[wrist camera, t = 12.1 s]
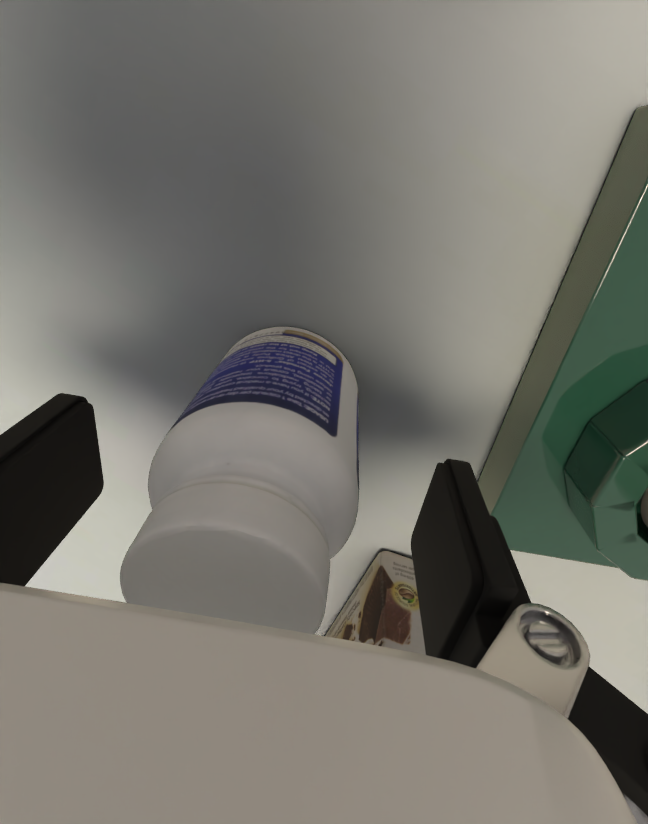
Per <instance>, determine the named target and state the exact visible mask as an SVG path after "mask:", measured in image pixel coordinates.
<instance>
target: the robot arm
mask: <svg viewBox="0 0 648 824" xmlns="http://www.w3.org/2000/svg"><path fill="white" fill-rule="evenodd" d="M103 484H104V481H103V474H102V466H101V459H100V452H99V445H98V438H97V430H96V423H95V416H94V409H93V406H92V404H90V403H88V401H87V400H86V398H84V397H82V396H76V395H70V394H64V393H60V394H58V395H56V396H55V397H53V398H52V399H50V400H49V401H48V402H46V403H45V404H43V405H42V406H41V407H39V408H38V409H36V410H35V411H33V412H32V413H31V414H29V415H28V416H26V417H25V418H24V419H22V420H21V421H19V422H18V423H17V424H15V425H14V426H12V427H11V428H10V429H8V430H7V431H5V432H4V433H3V434H1V435H0V824H648V714H647V713H646V712H644V711H643V710H642V709H641V708H640V707H638V706H637V705H636V704H635V703H633V702H632V701H631V700H630V699H628V698H627V697H626V696H625V695H623V694H622V693H621V692H620V691H619V690H617V689H616V688H615V687H614V686H612V685H611V684H610V683H609V682H607V681H606V680H605V679H604V678H602V677H601V676H600V675H599V674H597V673H596V672H595V671H594V670H593V669H591V668H590V667H589V661H590V653H589V649H588V646H587V643H586V642H585V640H584V638H583V636H582V635H581V633H580V632H579V631H578V630H577V629H576V627H575V626H574V625H573V624H572V623H571V622H570V621H569V620H567V619H566V618H565V617H564V616H563V615H561V614H560V613H558V612H556V611H554V610H553V609H551V608H549V607H546V606H543V605H540V604H534V603H531V601H530V599H529V596H528V594H527V591H526V589H525V586H524V584H523V582H522V579H521V577H520V574H519V572H518V569H517V567H516V564H515V562H514V559H513V557H512V554H511V552H510V549H509V547H508V544H507V542H506V539H505V537H504V535H503V532H502V530H501V527H500V525H499V522H498V521H497V519H496V518H495V517H494V516H492V515H490V514H489V511H488V509H487V506H486V504H485V501H484V499H483V496H482V493H481V491H480V488H479V486H478V483H477V481H476V478H475V475H474V473H473V470H472V468H471V465H470V463H468V462H464V461H458V460H452V459H446V461H445V462H444V463H438V464H437V466H436V469H435V472H434V474H433V477H432V480H431V483H430V486H429V489H428V491H427V494H426V497H425V500H424V503H423V505H422V508H421V511H420V514H419V517H418V519H417V522H416V525H415V528H414V531H413V534H412V538H411V551H412V558H413V565H414V573H415V580H416V587H417V594H418V601H419V609H420V616H421V623H422V630H423V637H424V645H425V652H426V655H423V654H419V653H413V652H408V651H403V650H397V649H392V648H387V647H382V646H376V645H371V644H366V643H360V642H355V641H350V640H344V639H338V638H332V637H326V636H321V635H315V634H309V633H303V632H297V631H291V630H286V629H280V628H274V627H268V626H262V625H256V624H251V623H245V622H239V621H233V620H227V619H221V618H215V617H209V616H203V615H197V614H191V613H185V612H179V611H173V610H167V609H161V608H154V607H148V606H142V605H136V604H130V603H124V602H118V601H112V600H106V599H99V598H93V597H87V596H81V595H74V594H68V593H62V592H56V591H49V590H43V589H37V588H31V587H24V586H25V585H26V584H27V583H28V581H29V580H30V579H31V578H32V577H33V575H34V574H35V573H36V572H37V571H38V569H39V568H40V567H41V566H42V565H43V563H44V562H45V561H46V560H47V558H48V557H49V556H50V555H51V554H52V552H53V551H54V550H55V549H56V548H57V546H58V545H59V544H60V543H61V541H62V540H63V539H64V538H65V537H66V535H67V534H68V533H69V532H70V531H71V529H72V528H73V527H74V526H75V524H76V523H77V522H78V521H79V520H80V518H81V517H82V516H83V515H84V514H85V512H86V511H87V510H88V509H89V508H90V506H91V505H92V504H93V503H94V501H95V500H96V499H97V498H98V497H99V495H100V494H101V492H102V489H103Z"/></svg>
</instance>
